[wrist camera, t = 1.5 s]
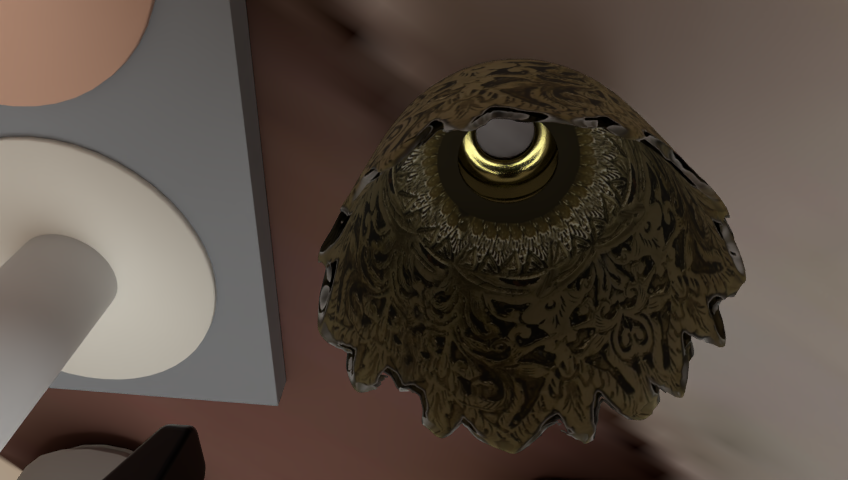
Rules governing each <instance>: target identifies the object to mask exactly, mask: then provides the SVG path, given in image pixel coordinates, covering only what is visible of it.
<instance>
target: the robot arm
mask: <svg viewBox="0 0 848 480" xmlns="http://www.w3.org/2000/svg"><path fill="white" fill-rule="evenodd" d="M204 476H205V461H204V457H203V453H202V449H201V445H200V441H199V437H198V433H197V430H196V429H195V428H194V427H193V426H189V425H175V424H169V425H165V426H163V427H161V428H160V429H159V430H158V431H156V432H155V433H154V434H153V435H152V436H151V437H150V438H149V439H147V440H146V441H145V442H144V443H143V444H142V445H141V446H139V447H138V448H137V449H136V450H135V451H134V452H133V453H132V454H130V455H129V456H128V457H127V458H126V459H125V460H124V461H122V462H121V463H120V464H119V465H118V466H117V467H116V468H115V469H113V470H112V471H111V472H110V473H109V474H108V475H107V476H105V477H104V478H103V479H102V480H204Z"/></svg>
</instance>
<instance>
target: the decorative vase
mask: <svg viewBox="0 0 848 480" xmlns="http://www.w3.org/2000/svg"><path fill="white" fill-rule="evenodd" d="M491 119H510V120H515V121H517V122H533V124H534V129H535V135H534V140H533V142H532V144H531V146H530V148H529V149H528V150H527V151H526V152H525V153H524V154H522V155H521V156H519V157H517V158H514V159H510V160H498V159H494V158H491V157H489V156H488V155H486V154H485V153H484V152H483V151H482V150H481V149H480V147H479V146H478V143H477V140H476V129H478V128H479V127H481V126H484V125H486V123H487V122H488V121H490V120H491ZM340 210H341V213H340V214H339V216H338V218H337V220H336V222H335V224H334V226H333V228H332V229H331V231H330V233H329V234H328V236H327V238H326V239H325V241H324V243H323V244H322V246H321V249H320V252H319V256H318V262H322V263H323V264H324V265H325V267H326V271H325V276H324V280H323V284H322V288H321V292H320V297H319V308H318V330H319V333H320V334H321V336H322V337H323V339H324V340H325V341H327V342H328V343H329V344H331V345H333V346H335V347H336V348H339V349H343V350H344V351H345V352H347V359H346V360H347V361H346V368H347V372H348V376H349V379H350V382H351V384H352V386H353V388H354V389H355V390H356V391H357V392H368V391H370V390H375V389H377V388H376V387H378V386H380V385H381V382H380V381H383V380H385V377H388V376H386V375H381V374H382V372H384V373H386V374H387V375H389V376H391V378H392V379H393V381H394V383H395V385H396V387H397V388H398V389H399V390H400V391H410V390H411V391H413V392H414V393H416V394H418V395H419V396H420V400H421V404H422V408H423V415H422V424H423V425H424V426H425V427H426V428H428V429H429V430H430V431H431V432H432V433H433V434H434V435H436V436H437V437H439V438H445V437H447V436H449V435H451V434H452V433H453V432H454V431H455V430H456V429H457V428H458V427H459V426H460V424H463V425H464V426H465V427H467V428H468V429H469V431H470V432H471V433H472V434H473V435H474V436H475V437H476V438H477V439H478V440H480V441H482V442H484V443H486V444H488V445H490V446H492V447H495V448H498V449H500V450H503V451H506V452H508V453H513V454H516V453H518V452H520V451H522V450H524V449H525V448H526V447H528V446H529V445H530V444H531V443H533V442H534V441H535V440H536V439H537V438H538V437H540V436H541V435H542V433H543V432H544V431H545V430H546V429H547V428H548V427H550V426H551V425H553V424H555V423H557V422H558V421H557V420H558V419H560V420H561V421H562V422H563V423H564V425H565V427H566V429H567V432H568V433H569V434H568V433H567V432H566V431H564V430H561V431H562V432H564V433H567V434H566V435H569V436H572V437H574V438H575V439H576V440H580V441H582V442H583V443H584V444H586V443H589V442H591V441H592V440H593V439H594V438H595V433H596V425H597V423H598V413H599V410H600V404H601V403H602V402H603V401H604V402H606V403H607V404H608V405H609V406H610V407H611V408H612V409H614V410H615V411H617V412H618V413H619V414H621V415H623V416H624V417H625V418H627V419H631V420H644V419H646V418H647V417H648V416H650V415H651V414H652V412H653V410H654V408H655V407H656V406H657V405H658V403H659V402H660V397H659V389H661V390H663V391H664V392H665V393H666V392H668V393H670V394H671V395H673V396H675V397H679V398H682V397H683V395H684V393H685V389H686V384H687V379H688V369H689V361H690V360H691V358H692V357H693V355H694V348H693V344H692V341H691V336H693V337H695V338H696V339H699V340H703V339H704V340H705V341H704V342H706V343H711V344H714V345H716V346H718V347H724V346H725V341H726V336H725V330H724V324H723V320H722V317H721V314H720V311H719V304H720V302H721V300H725V299H726V298H727V297H734V296H735V295H736V293H737V291H738V290H739V288H740V287H741V285H742V284H743V283H744V282H745V281H746V275H745V268H744V264H743V261H742V258H741V255H740V252H739V250H738V248H737V245H736V243H735V241H734V236H733V233H732V231H731V229H730V227H729V225H728V223H727V221H726V219H725V218H729V217H730V216H729V213H728V210H727V208H726V206H725V205H724V203H723V202H722V200H721V199H720V197H719V196H718V195H717V194H716V193H715V191H714V190H713V189H712V188H711V187H710V186H709V185H708V184H707V183H706V182H705V181H704V180H703V179H702V178H701V177H699V176H698V174H697V173H696V172H695V171H694V170H693V169H692V168H690V167H689V166H688V165H687V164H686V162H685V161H684V160H683V159H682V158H681V157H680V156H679V155H678V154H677V153H676V152H675V151H674V150H673V149H672V147H671V146H670V145H669V144H668V143H667V142H666V141H665V140H664V139H663V138H662V137H661V136H660V135H659V134H658V133H657V132H656V131H655V130H654V129H653V128H652V127H651V126H650V125H649V124H648V123H647V122H646V121H645V120H644V119H643V118H642V117H641V116H640V115H639V114H638V113H637V112H636V111H635V110H634V109H632V108H631V107H630V106H629V105H628V104H627V103H626V102H624V101H623V100H622V99H621V98H620V97H619V96H617V95H616V94H615V93H614V92H612V91H611V90H609V89H608V88H606V87H605V86H603V85H602V84H600V83H599V82H597V81H596V80H594V79H592V78H590V77H588V76H586V75H584V74H582V73H580V72H578V71H575V70H572V69H570V68H567V67H564V66H561V65H558V64H553V63H549V62H545V61H539V60H530V59H506V60H496V61H491V62H486V63H482V64H478V65H475V66H472V67H469V68H466V69H463V70H461V71H459V72H456V73H454V74H452V75H450V76H448V77H446V78H445V79H443V80H441V81H440V82H438V83H437V84H435V85H433V86H432V87H430V88H429V89H428V90H427V91H425V92H424V93H423V94H421V95H420V96H419V97H418V98H417V99H416V100H415V101H414V102H413V103H411V104H410V105H409V106H408V107H407V108H406V110H405V111H404V112H403V113H402V114H401V115H400V116H399V118H398V119H397V120H396V121H395V123H394V124H393V125H392V126H391V128H390V129H389V130H388V132H387V133H386V135H385V136H384V138H383V139H382V141H381V143H380V144H379V146H378V147H377V149H376V151H375V152H374V154H373V155H372V157H371V159H370V160H369V162H368V164H367V165H366V167H365V169H364V170H363V172H362V174H361V175H360V177H359V179H358V180H357V182H356V184H355V186H354V187H353V189H352V191H351V193H350V194H349V196H348V197H347V199H346V200H345V202H344V204H343V205H342V207H341V208H340ZM407 389H410V390H407ZM413 392H412V393H413ZM601 396H603V397H605V399H606V400H607V401H606V400H605V399H603V398H602V399H601V400H600V402H599V398H600V397H601ZM597 408H598V410H597ZM557 424H558V425H561V423H557Z"/></svg>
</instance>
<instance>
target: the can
mask: <svg viewBox="0 0 848 480" xmlns="http://www.w3.org/2000/svg"><path fill="white" fill-rule="evenodd" d="M133 452H134V451H131V450H129V449H125V448H120V447H115V446H110V445H81V446H77V447H74V448H70V449H63V450H59V451H55V452H52V453H48V454H45V455H41V456H39V457H38V458H37V459H35V460H34V461H33V462H31V463H30V464H29V465H28V466H26V467H25V469H24V470H23V472H22V473H21V475H20V476H19V477H18V479H17V480H102V479H103V478H104V477H105V476H107V475H108V474H109V473H110V472H111V471H112V470H113V469H115V468H116V467H117V466H118V465H119V464H120V463H121V462H122V461H124V460H125V459H126V458H127V457H128V456H129V455H130V454H132V453H133Z"/></svg>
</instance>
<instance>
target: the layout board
mask: <svg viewBox="0 0 848 480" xmlns="http://www.w3.org/2000/svg"><path fill="white" fill-rule="evenodd" d="M285 383H286V376H285V366H284V357H283V347H282V338H281V329H280V319H279V310H278V301H277V291H276V282H275V273H274V263H273V254H272V244H271V235H270V226H269V216H268V207H267V198H266V188H265V179H264V169H263V160H262V151H261V141H260V132H259V123H258V113H257V104H256V94H255V85H254V76H253V66H252V57H251V48H250V38H249V29H248V20H247V10H246V1H245V0H0V452H1V450H2V449H3V448H4V446H5V445H6V444H7V442H8V441H9V440H10V438H11V437H12V436H13V434H14V433H15V432H16V430H17V429H18V428H19V426H20V425H21V424H22V422H23V421H24V420H25V418H26V417H27V416H28V414H29V413H30V412H31V410H32V409H33V408H34V406H35V405H36V403H37V402H38V401H39V399H40V398H41V397H42V395H43V394H44V393H45V391H46V390H47V389H48V388H58V389H71V390H84V391H96V392H109V393H122V394H134V395H147V396H160V397H172V398H185V399H198V400H210V401H223V402H236V403H248V404H261V405H274V406H278V404H279V401H280V398H281V395H282V392H283V389H284V386H285Z"/></svg>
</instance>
